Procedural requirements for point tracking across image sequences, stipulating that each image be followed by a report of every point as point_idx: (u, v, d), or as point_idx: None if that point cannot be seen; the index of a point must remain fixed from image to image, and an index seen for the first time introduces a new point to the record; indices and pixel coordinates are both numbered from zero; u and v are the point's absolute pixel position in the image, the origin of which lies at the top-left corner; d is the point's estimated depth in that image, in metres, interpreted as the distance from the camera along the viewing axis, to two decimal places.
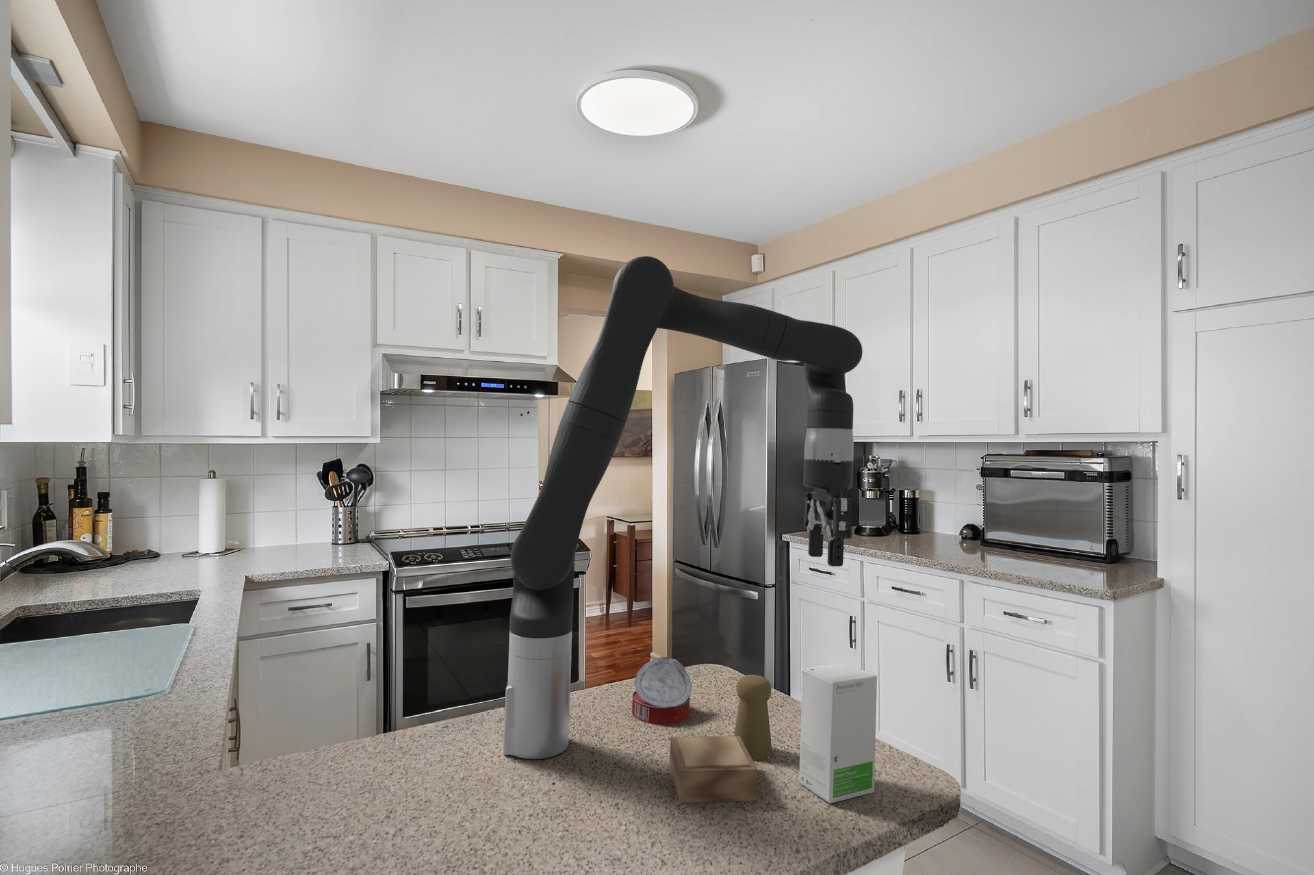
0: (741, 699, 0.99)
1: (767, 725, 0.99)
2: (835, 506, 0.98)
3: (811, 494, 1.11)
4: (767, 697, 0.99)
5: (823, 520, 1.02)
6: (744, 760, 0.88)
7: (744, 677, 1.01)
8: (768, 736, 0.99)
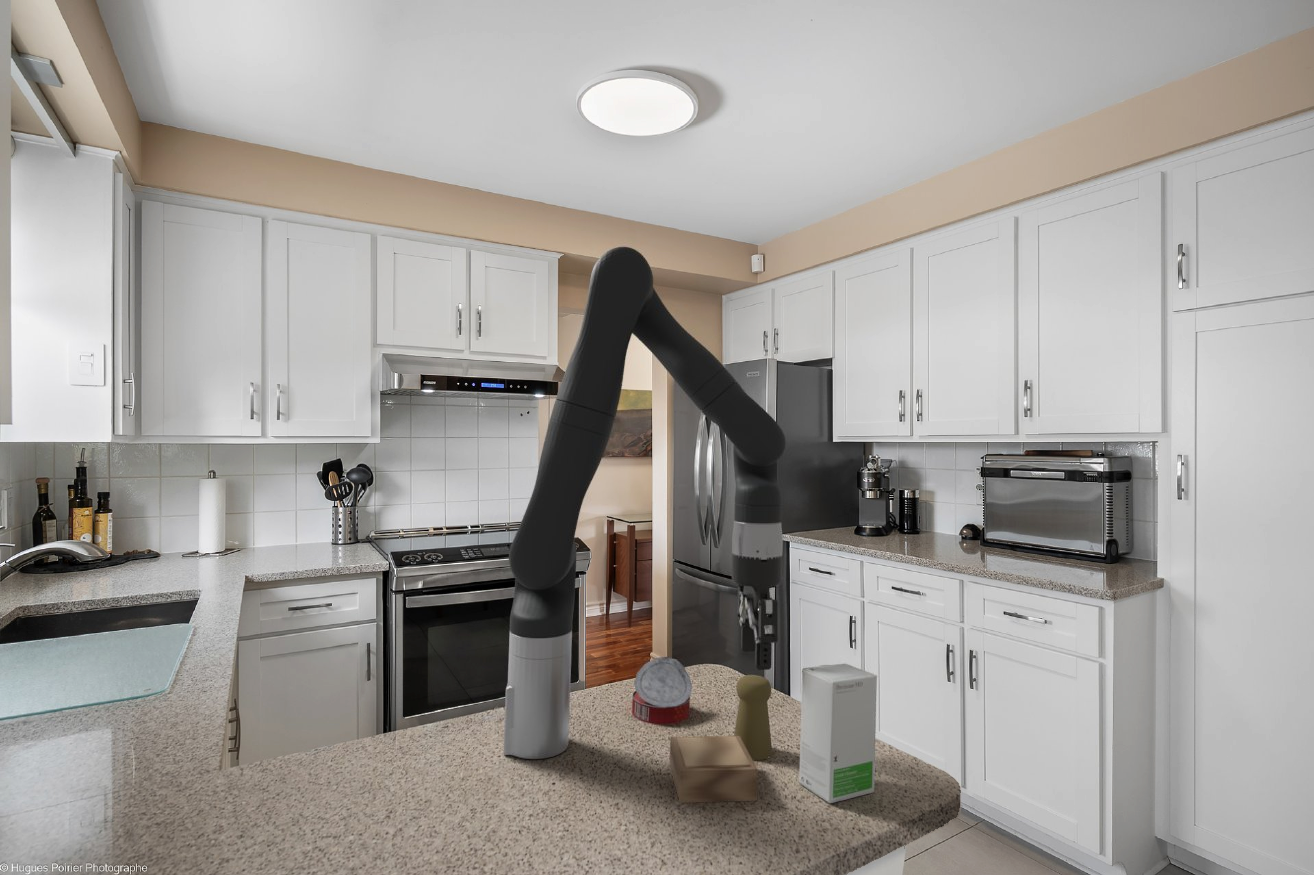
0: (741, 699, 0.99)
1: (767, 725, 0.99)
2: (760, 609, 0.94)
3: None
4: (767, 697, 0.99)
5: (750, 620, 0.97)
6: (744, 760, 0.88)
7: (744, 677, 1.01)
8: (768, 736, 0.99)
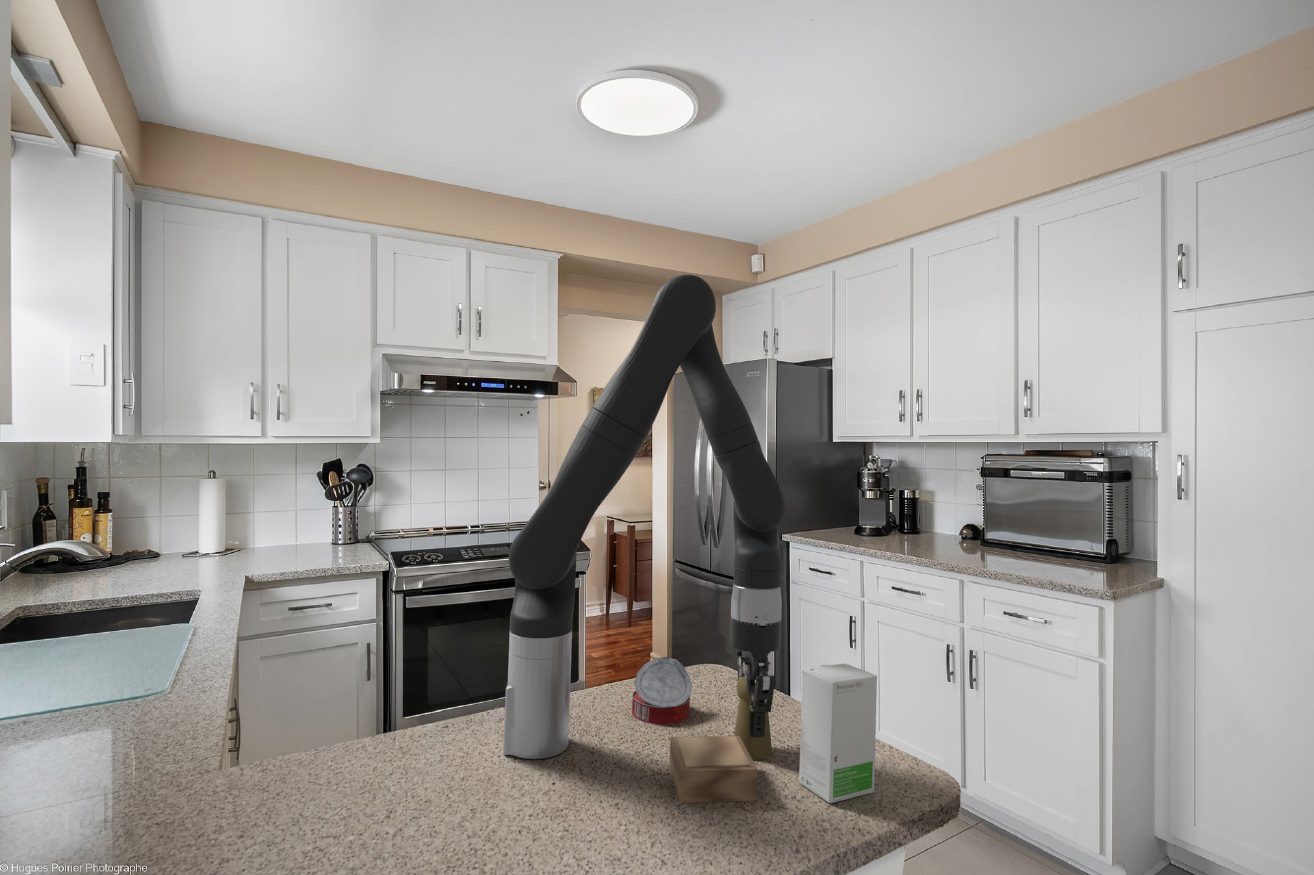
0: (741, 699, 0.99)
1: (767, 725, 0.99)
2: (757, 685, 0.94)
3: (742, 651, 1.06)
4: None
5: (746, 688, 0.98)
6: (744, 760, 0.88)
7: (744, 677, 1.01)
8: (768, 736, 0.99)
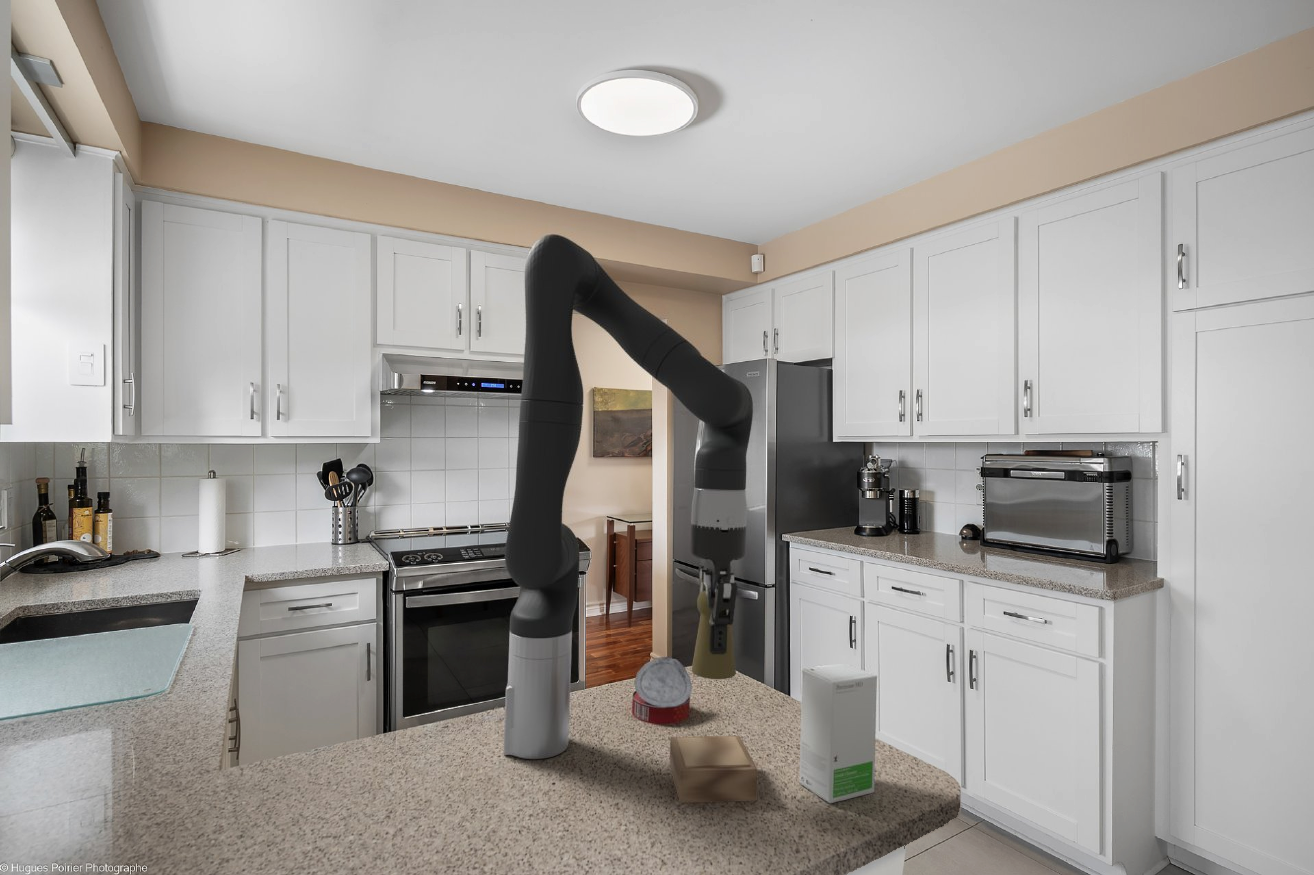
0: (702, 613, 0.90)
1: (730, 642, 0.90)
2: (717, 593, 0.85)
3: None
4: None
5: (707, 599, 0.89)
6: (744, 760, 0.88)
7: None
8: (731, 654, 0.89)
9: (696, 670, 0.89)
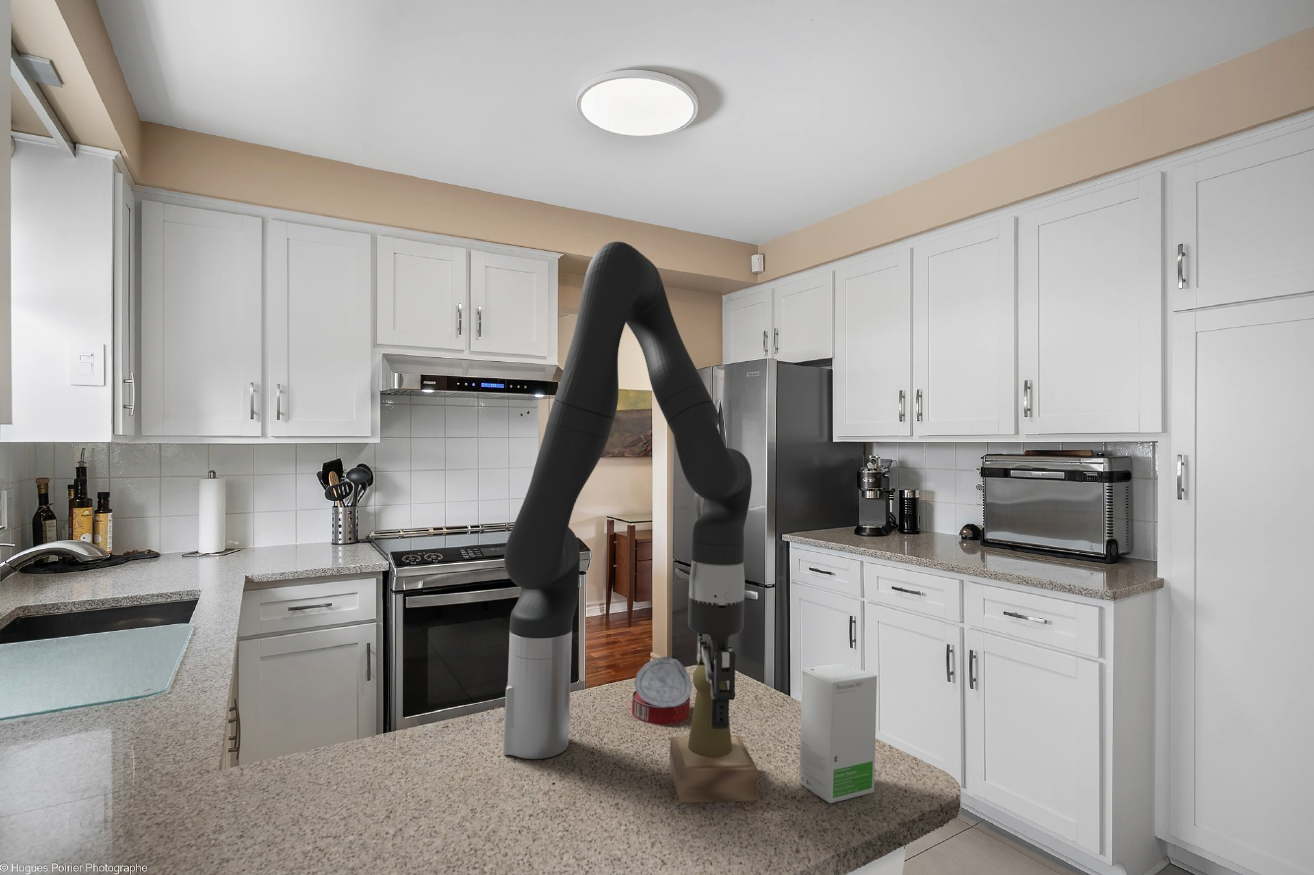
0: (698, 690, 0.91)
1: None
2: (715, 662, 0.84)
3: None
4: None
5: (706, 673, 0.87)
6: (744, 760, 0.88)
7: (701, 666, 0.92)
8: (727, 730, 0.90)
9: (692, 747, 0.90)
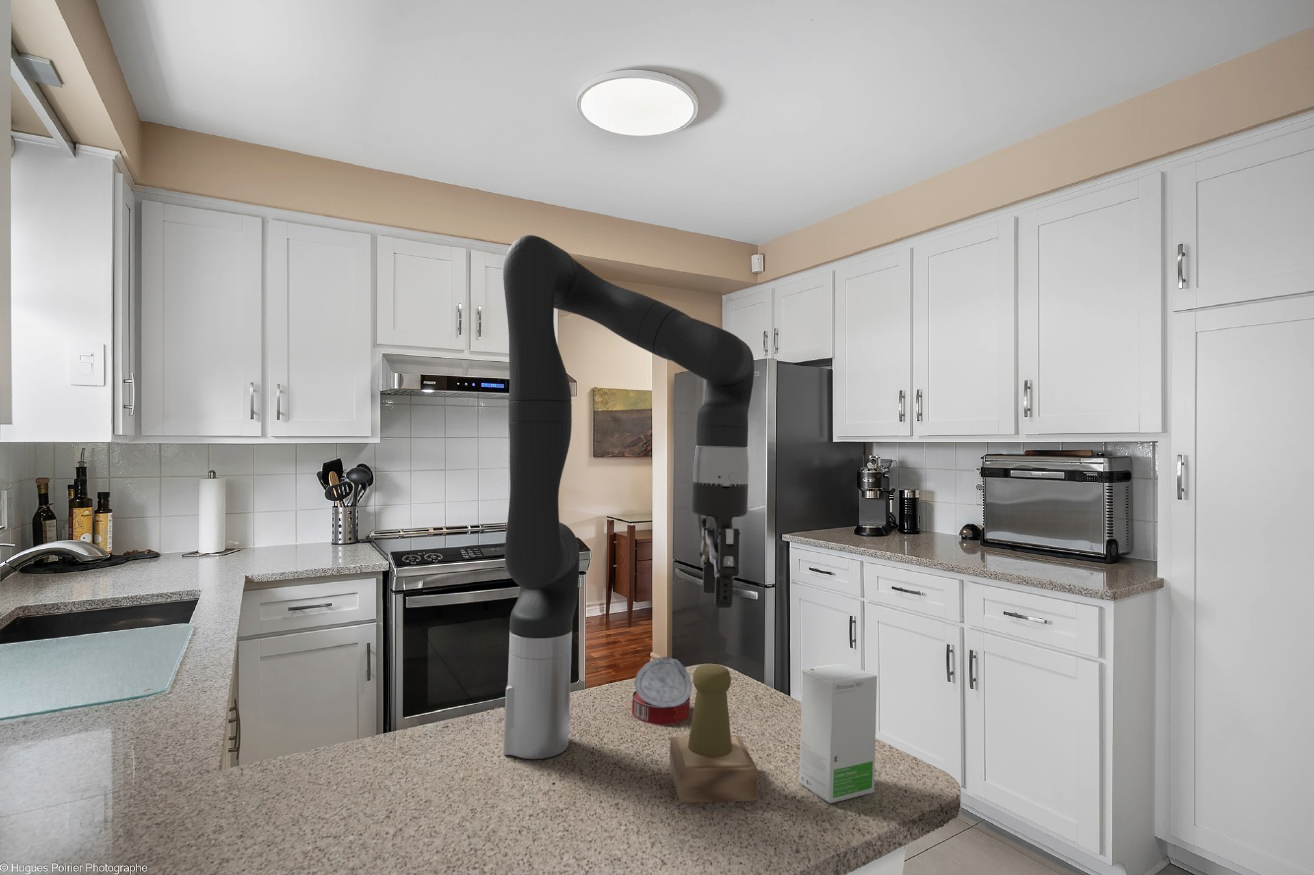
0: (698, 690, 0.91)
1: (726, 718, 0.90)
2: (719, 538, 0.84)
3: (707, 520, 0.96)
4: (726, 688, 0.90)
5: (710, 553, 0.87)
6: (744, 760, 0.88)
7: (701, 666, 0.92)
8: (727, 730, 0.90)
9: (692, 747, 0.90)
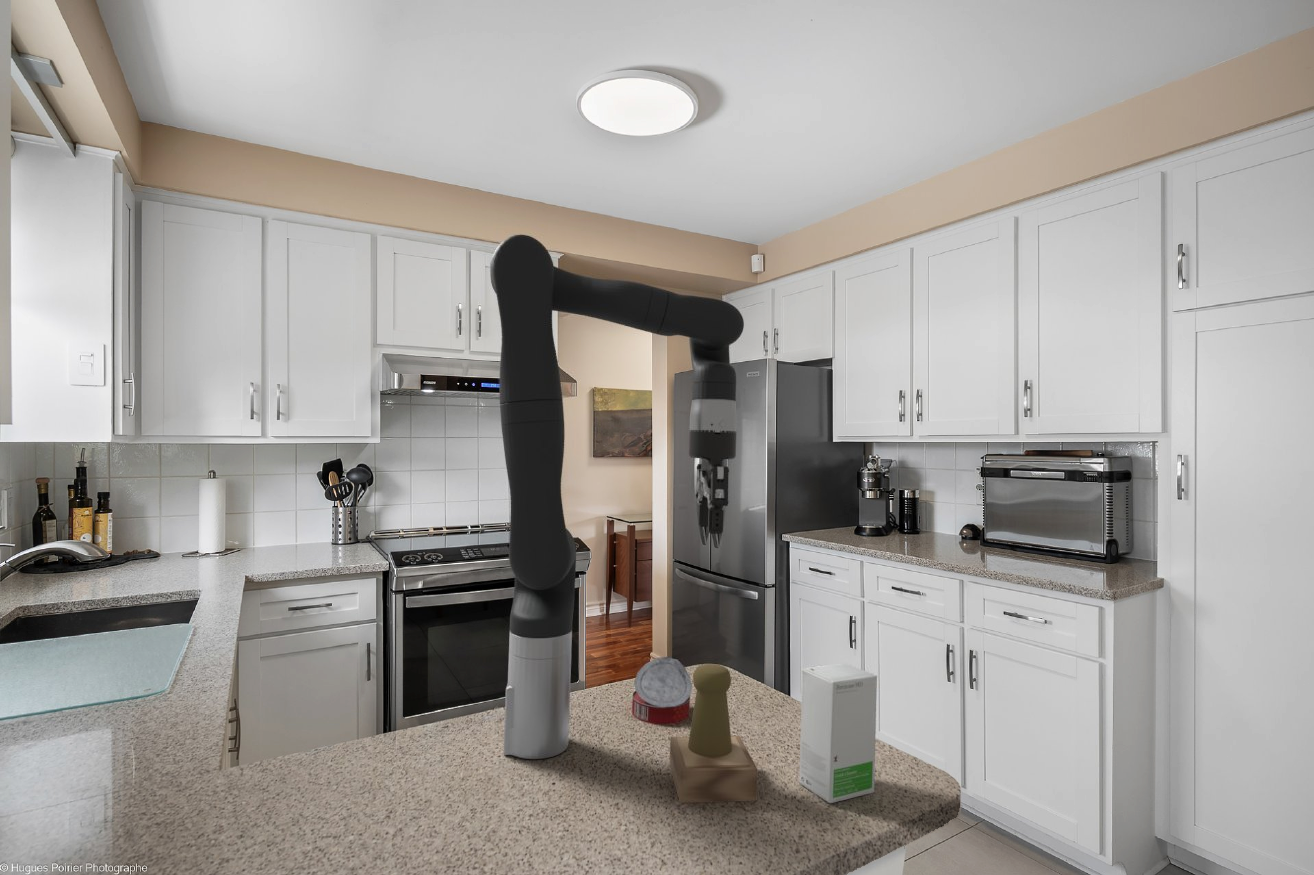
0: (698, 690, 0.91)
1: (726, 718, 0.90)
2: (712, 474, 1.01)
3: None
4: (726, 688, 0.90)
5: (704, 489, 1.04)
6: (744, 760, 0.88)
7: (701, 666, 0.92)
8: (727, 730, 0.90)
9: (692, 747, 0.90)
